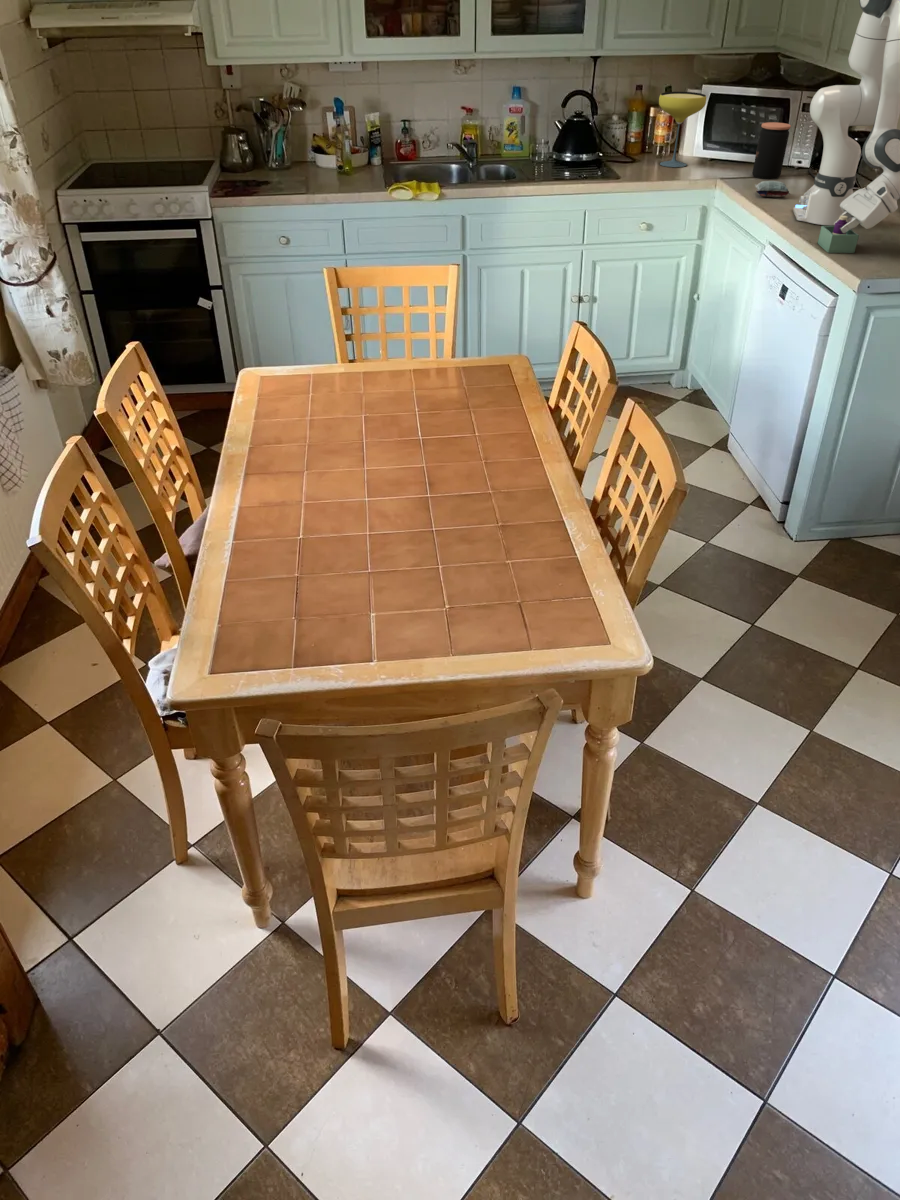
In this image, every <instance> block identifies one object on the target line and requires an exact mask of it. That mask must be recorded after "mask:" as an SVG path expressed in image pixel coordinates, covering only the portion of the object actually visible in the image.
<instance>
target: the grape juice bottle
mask: <svg viewBox="0 0 900 1200" xmlns="http://www.w3.org/2000/svg"><path fill="white" fill-rule="evenodd" d="M846 220H847V216H840V217H839V221H837V222H836V223H835V226H834V225H833V226H834V230H833V233H832V234H833V235H846V233H847V232H846V233H842V232H841V230H840V227H841V226H843V225H844V224H847V222H846Z"/></svg>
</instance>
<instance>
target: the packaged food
mask: <svg viewBox="0 0 900 1200" xmlns="http://www.w3.org/2000/svg"><path fill="white" fill-rule="evenodd" d="M754 187H755V188H756V191H755V193H757V194H758V195H759V196H761V197H764V198H766V197H767V198H782V197H785V196H788V195H789V196H790V195H791V193H790V191H789V187H787V185H786V183H785V182H783V181H778V180H763V181H762V180H761V181H760V182H759V183H758V184H756V183H755V184H754Z"/></svg>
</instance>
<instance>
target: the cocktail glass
mask: <svg viewBox="0 0 900 1200" xmlns="http://www.w3.org/2000/svg"><path fill="white" fill-rule="evenodd" d="M706 103H707V95H706V94H705V93H700V92H695V91H694V92H693V91H665V92H661V93H660V95H659V98H658V105H659V107H660V108H661V109H662V111H664V112H665V113H667V114H668V115H669V116H671V117H672V118H673V119H674V121H675V123H676V124H677V131H676V136H675V137H676V138H675V144H674V150H673V155H672V158H671V159H670V160H664V161H661V162H660V163H659V165H660V166H661V167H665V168H685V167H687V166H688V163H686V162H683V161H679V160H678V159H677V148H678V142H679V141H678V140H679V133H680V125H681V124H683V122H684V121H685V120H686V119H688V118H689V117H691V116H693V115H695V114H697V113H699V112H700V111H702V110H703V109H704V108H705V106H706Z"/></svg>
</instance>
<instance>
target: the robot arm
mask: <svg viewBox="0 0 900 1200" xmlns="http://www.w3.org/2000/svg"><path fill="white" fill-rule="evenodd" d="M858 1H859V7H860V9H861V10H862V13H861V16H860V18H859V21H858V23H857V26H856V29H855V32H854V33H855V34H854V37H853V41H852V44H851V47H850V51H849V54H848V59H847V60H848V65H849V68H850V69H851V70H852V71H854V72H855V73H856V74H858V75H859V76H861V79H860V83H859V84H835V85H829V86H825V87H821V88H820V89H818V90H817V91H816V92H815V94H814V95H813V97H812V99H811V102H810V104H809V113H810V114H809V115H810V118H811V120H812V122H813V123H814V124H815V125H816V126H817V128H818V129H819V131H820V133H821V135H822V141H823V149H822V154H821V155H822V156H821V161H820V164H819V165H818V166H816V167H817V168H819V170H818V172H817V174H816V175H815V174H814V173H813V172H812V170H813V168H814V167H812V166H811V167H812V168H811V167H810V168H809V169H808V173H809V174H810V176H811V177H812V178H814V181H813V185H812V186H811V187H810V188H808V189H807V190H806V191H805V192H804V193H803V195H800V196H799V201H798V203H799V204H795V206H793V208H792V211H793V214H794V217H795V219H796V221H799V222H804V223H805V222H806V223H810V224H815V225H819V226H820V225H821V226H835V223H836V222H837V221H839V217H840V216H847V220H846V222H847V224H844V225H843V226H841V227H840V230H841V232H842V233H846V232H847V231H848V230H850V229H852V230H853V229H854V228H856V227H858V226H859V225H860V226H861V227H863V228H864V229H866V230H870V229H872V228H873V227H875V226H877V224H879V223H880V222H882V221H883V220H884V219H886V217H888V216H889V214H893V213H895V212H896V211H897V210H898V208H899V206H898V200H900V129H898V123H899V119H900V0H858ZM854 126H855V127H872V129H871V130H870V133H869V134H868V136H867V137H866V140H865V141H864V143H863V146H862V147H861V145H860V144H859V143H858V142H857V141H856V140H855V139H853V138H852V137H850V136H849V127H854ZM861 148H862V149H861ZM861 155H862V159H863V162H864V163H865V164H866V165H867V166H868V167H869V168H872V169H882V170H883V171H882V173H880V174H879V175H878V176H877V177H876V178H874V179H873V180H872V181H871V182H870V183H868V184H867V185H866V187H864V188H859V189H857V190H855V191H854V190H853V189H854V187H855V183H856V179H857V169H858V165H859V162H860V158H861Z"/></svg>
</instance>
